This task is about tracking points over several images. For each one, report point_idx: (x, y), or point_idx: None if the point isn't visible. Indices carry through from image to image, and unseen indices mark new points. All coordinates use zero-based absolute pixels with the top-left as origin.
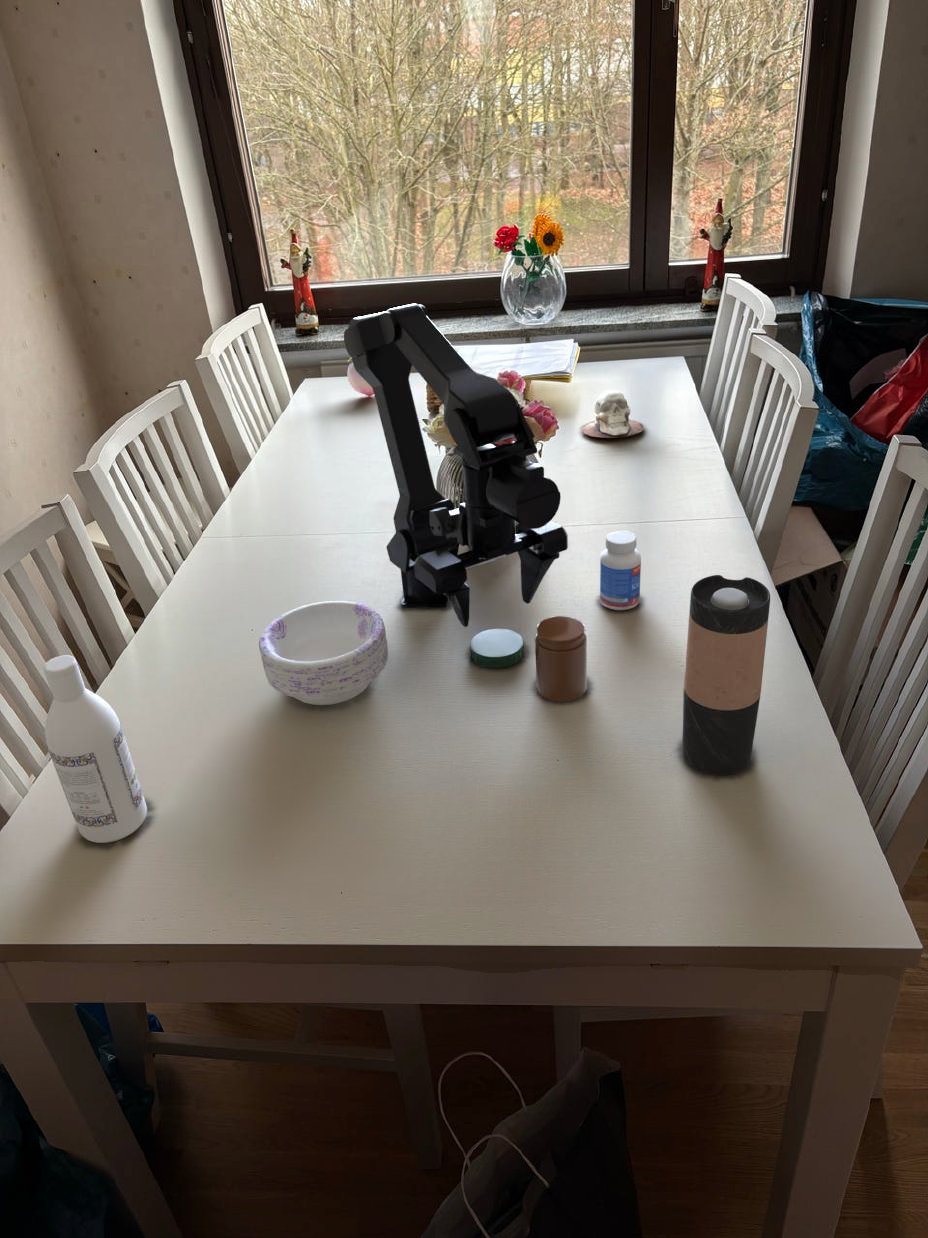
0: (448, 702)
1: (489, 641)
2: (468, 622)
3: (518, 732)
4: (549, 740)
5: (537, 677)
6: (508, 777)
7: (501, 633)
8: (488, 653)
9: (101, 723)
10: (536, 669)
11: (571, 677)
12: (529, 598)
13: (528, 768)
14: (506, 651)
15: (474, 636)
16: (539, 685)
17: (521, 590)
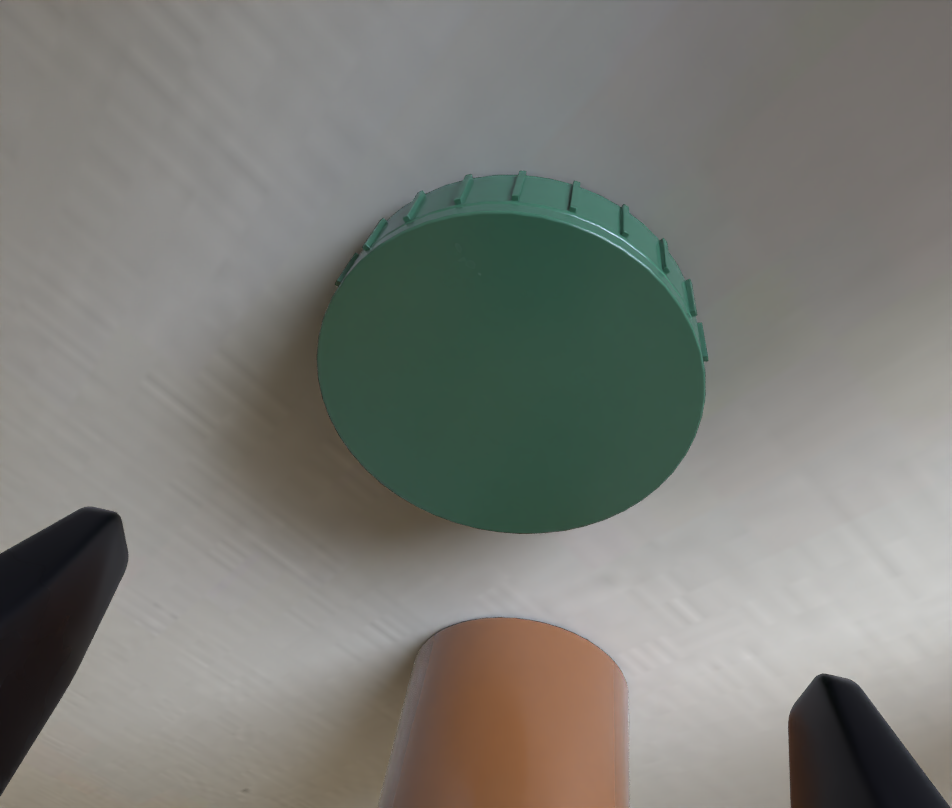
0: (49, 437)
1: (476, 354)
2: (102, 615)
3: (216, 691)
4: (277, 755)
5: (403, 717)
6: (90, 743)
7: (623, 347)
8: (376, 433)
9: None
10: (400, 748)
11: None
12: (797, 800)
13: (157, 760)
14: (475, 495)
15: (441, 219)
16: (405, 698)
17: (859, 775)
